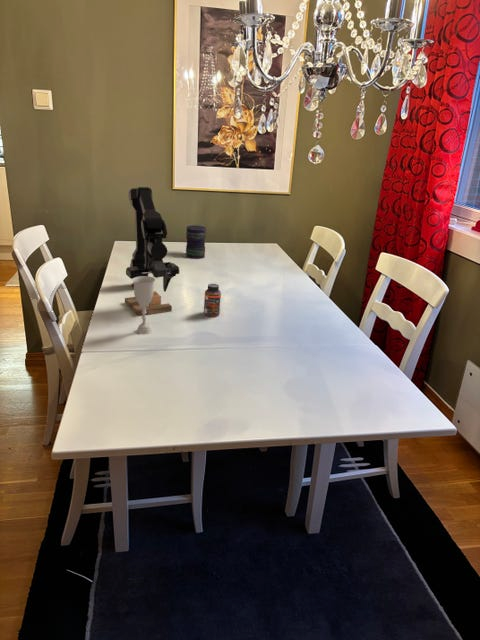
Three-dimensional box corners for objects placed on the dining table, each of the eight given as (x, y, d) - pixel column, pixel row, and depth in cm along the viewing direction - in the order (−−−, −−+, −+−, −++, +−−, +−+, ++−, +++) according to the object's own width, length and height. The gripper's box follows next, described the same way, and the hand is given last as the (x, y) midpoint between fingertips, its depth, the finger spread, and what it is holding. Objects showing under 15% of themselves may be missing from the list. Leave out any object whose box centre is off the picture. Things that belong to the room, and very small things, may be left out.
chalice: (146, 325, 167) (145, 274, 160) (159, 331, 163) (159, 279, 156) (128, 331, 162) (127, 279, 155) (142, 337, 158) (141, 284, 151)
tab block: (145, 304, 185) (145, 292, 183) (155, 303, 187) (155, 291, 185) (150, 310, 180) (150, 297, 178) (160, 308, 182) (160, 296, 180)
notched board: (124, 303, 185) (124, 298, 184) (157, 298, 191) (157, 293, 190) (137, 316, 174) (137, 310, 173) (171, 311, 180) (171, 306, 179)
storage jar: (183, 254, 254) (183, 225, 248) (200, 253, 258) (201, 225, 252) (189, 259, 245) (190, 230, 240) (207, 258, 249) (209, 229, 244)
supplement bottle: (205, 317, 177) (206, 287, 172) (202, 311, 182) (203, 282, 178) (221, 316, 178) (223, 287, 174) (217, 310, 184) (219, 282, 179)
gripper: (135, 259, 164) (136, 303, 170) (186, 255, 174) (185, 296, 180) (124, 251, 173) (125, 293, 179) (173, 247, 182) (173, 287, 188)
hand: (153, 292), depth 181 cm, fingers open, 9 cm apart
